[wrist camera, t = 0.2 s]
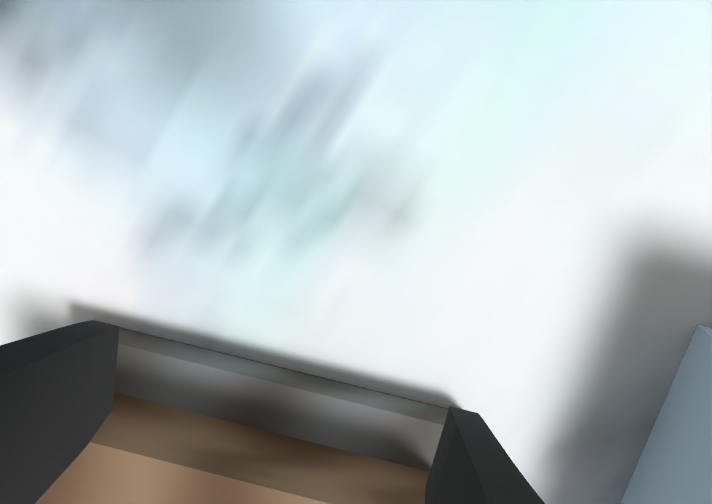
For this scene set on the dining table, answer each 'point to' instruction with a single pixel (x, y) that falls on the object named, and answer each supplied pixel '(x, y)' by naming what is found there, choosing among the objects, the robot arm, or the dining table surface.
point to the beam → (680, 436)
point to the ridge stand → (246, 436)
